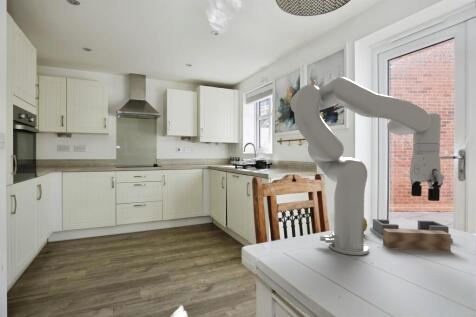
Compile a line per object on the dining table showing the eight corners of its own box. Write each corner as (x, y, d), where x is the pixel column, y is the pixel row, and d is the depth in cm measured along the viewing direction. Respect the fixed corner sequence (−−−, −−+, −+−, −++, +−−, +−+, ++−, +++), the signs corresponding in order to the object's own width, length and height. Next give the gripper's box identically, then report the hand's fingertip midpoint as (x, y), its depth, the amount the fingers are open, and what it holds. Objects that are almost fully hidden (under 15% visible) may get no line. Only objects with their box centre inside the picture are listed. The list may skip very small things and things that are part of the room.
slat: (388, 249, 88) (388, 231, 88) (382, 244, 92) (383, 228, 92) (450, 251, 86) (450, 234, 86) (442, 247, 90) (442, 230, 90)
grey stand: (382, 239, 98) (382, 225, 98) (369, 229, 110) (370, 218, 110) (452, 241, 95) (452, 228, 95) (431, 232, 107) (432, 219, 107)
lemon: (367, 233, 105) (367, 214, 105) (366, 236, 101) (366, 216, 100) (353, 230, 108) (353, 212, 108) (351, 234, 104) (351, 215, 103)
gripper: (401, 149, 97) (400, 194, 97) (430, 148, 80) (428, 202, 80) (422, 150, 96) (421, 194, 96) (456, 148, 79) (454, 203, 79)
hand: (424, 198), depth 88 cm, fingers open, 9 cm apart
